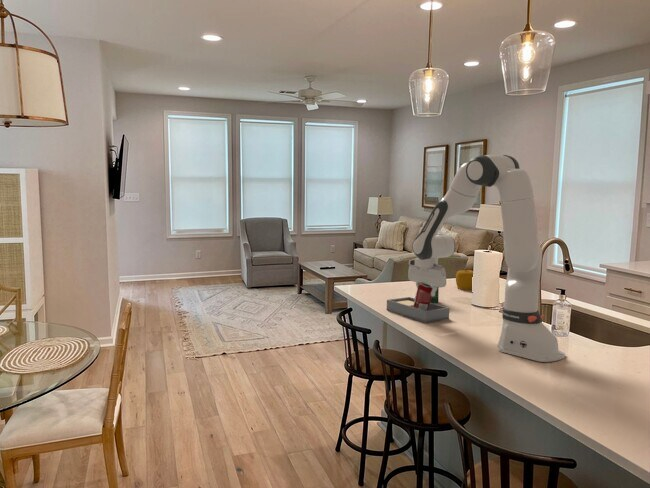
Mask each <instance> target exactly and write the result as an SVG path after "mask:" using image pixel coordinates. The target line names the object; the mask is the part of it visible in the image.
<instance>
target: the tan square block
mask: <svg viewBox="0 0 650 488" xmlns="http://www.w3.org/2000/svg"><path fill="white" fill-rule="evenodd" d="M398 303H401V304H405V305H408V306H411V307H414V306H413V304H414V302H413V301H409V300H406V301H399V302H398Z"/></svg>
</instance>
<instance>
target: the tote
mask: <svg viewBox="0 0 650 488" xmlns="http://www.w3.org/2000/svg"><path fill="white" fill-rule="evenodd" d="M406 300H409V301H413V302H414V300H415V297H411V296H406V297H399V298H389V299H386V311H388V312H391V313H395V314H397V315H400V316H402V315H403V317H404V318H409V319H412V320H414V321H418V322H422V323H423V324H428V323H429V324H430V323H436V322H441V321H446V320H450V307H447V306H443V305H439V304H438V303H434V304H433V303H430V305H429V308H428V310H427V311H425V310H422V309H418V308H415V307H411V306H408V305H405V304H401V303H398V302H399V301H406Z"/></svg>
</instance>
